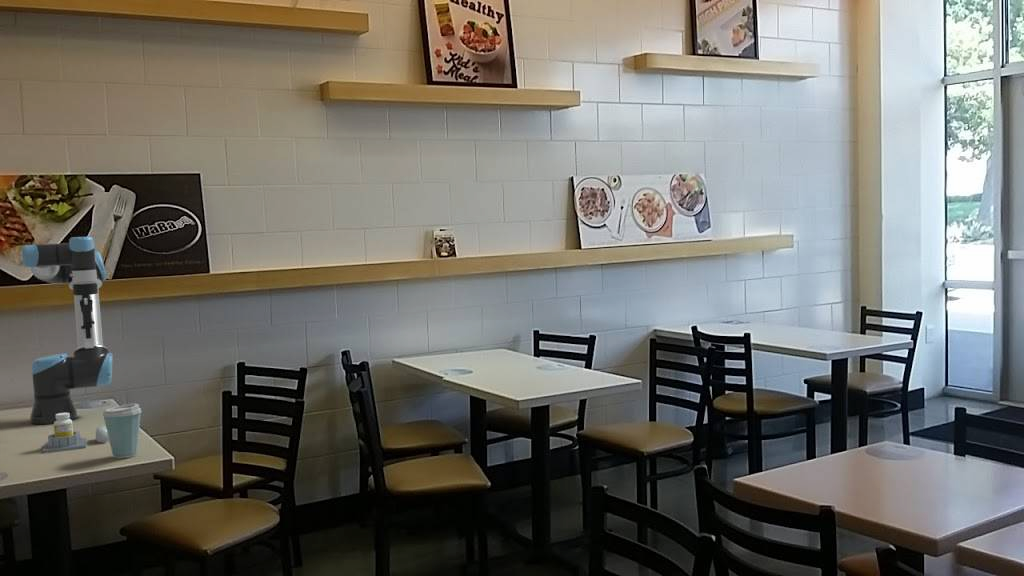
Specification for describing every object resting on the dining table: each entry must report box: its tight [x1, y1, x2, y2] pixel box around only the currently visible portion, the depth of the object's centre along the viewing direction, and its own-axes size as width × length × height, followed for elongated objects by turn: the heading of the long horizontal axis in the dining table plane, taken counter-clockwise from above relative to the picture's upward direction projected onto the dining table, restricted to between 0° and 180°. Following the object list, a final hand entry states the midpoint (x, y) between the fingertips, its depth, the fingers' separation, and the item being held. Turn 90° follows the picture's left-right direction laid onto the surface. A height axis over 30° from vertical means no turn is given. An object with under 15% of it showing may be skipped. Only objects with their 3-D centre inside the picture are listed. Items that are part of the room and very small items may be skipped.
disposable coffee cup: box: [102, 403, 142, 459], centre depth 281 cm, size 11×11×15 cm
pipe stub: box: [95, 425, 109, 444], centre depth 304 cm, size 8×4×4 cm, turn 24°
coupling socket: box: [42, 430, 87, 454], centre depth 298 cm, size 12×12×4 cm
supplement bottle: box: [53, 413, 74, 437], centre depth 298 cm, size 5×5×10 cm
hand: (89, 345), depth 320 cm, fingers open, 13 cm apart
